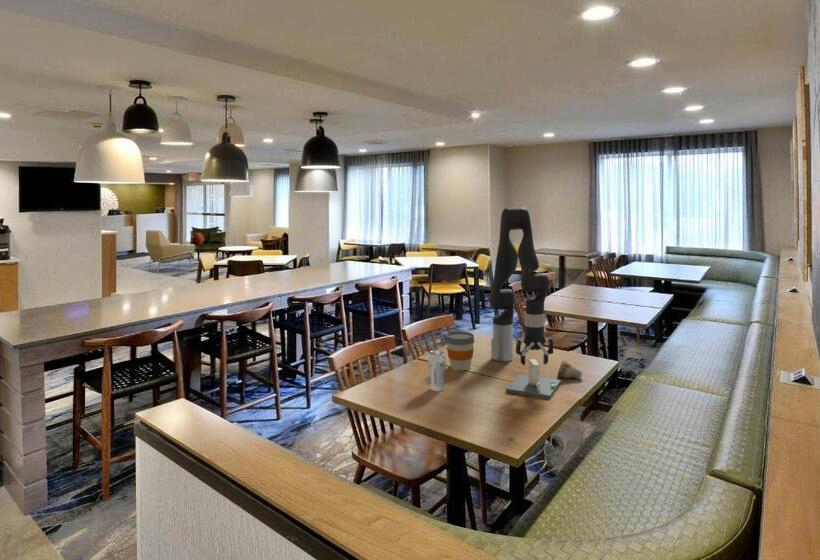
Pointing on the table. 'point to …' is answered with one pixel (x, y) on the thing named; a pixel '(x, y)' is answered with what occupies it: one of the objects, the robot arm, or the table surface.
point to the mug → (569, 371)
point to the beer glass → (437, 369)
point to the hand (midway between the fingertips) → (534, 364)
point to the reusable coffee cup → (460, 349)
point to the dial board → (534, 387)
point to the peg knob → (534, 373)
